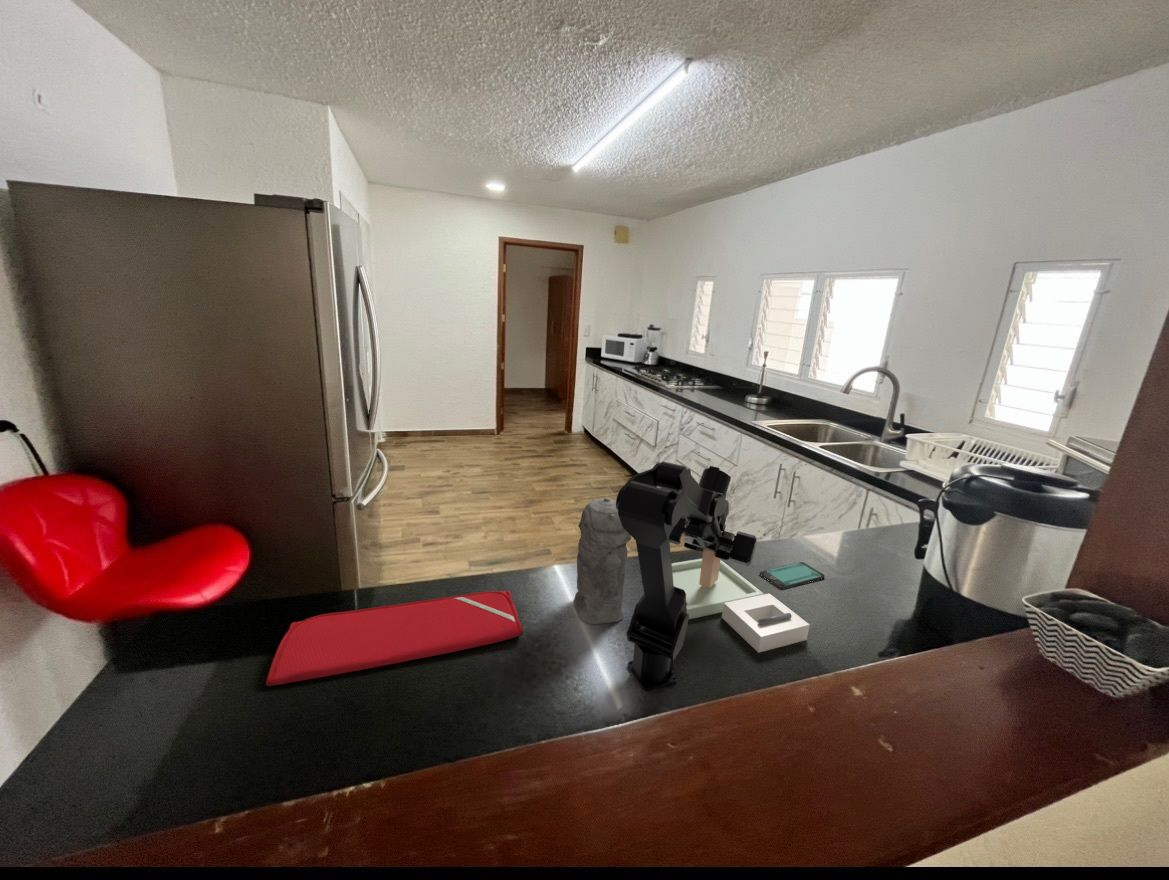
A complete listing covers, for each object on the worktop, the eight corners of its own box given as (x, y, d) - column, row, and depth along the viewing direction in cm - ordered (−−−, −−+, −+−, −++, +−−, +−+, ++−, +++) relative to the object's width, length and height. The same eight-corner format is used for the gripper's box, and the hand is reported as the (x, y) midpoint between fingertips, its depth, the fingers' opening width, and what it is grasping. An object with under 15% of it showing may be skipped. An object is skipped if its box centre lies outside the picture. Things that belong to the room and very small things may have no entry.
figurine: (608, 587, 105) (616, 484, 99) (630, 626, 92) (641, 511, 85) (567, 591, 102) (572, 486, 96) (583, 633, 89) (591, 514, 83)
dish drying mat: (292, 628, 87) (290, 611, 86) (509, 597, 100) (509, 582, 99) (266, 692, 72) (263, 672, 72) (523, 646, 86) (523, 629, 85)
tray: (685, 620, 95) (686, 609, 94) (645, 576, 110) (646, 567, 109) (761, 603, 102) (763, 593, 101) (714, 564, 117) (716, 556, 117)
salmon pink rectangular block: (709, 588, 103) (715, 543, 100) (699, 584, 105) (704, 540, 102) (717, 579, 107) (723, 536, 104) (707, 575, 109) (713, 532, 106)
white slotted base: (758, 652, 86) (762, 632, 85) (721, 617, 96) (724, 598, 95) (806, 639, 91) (810, 620, 90) (766, 607, 101) (770, 589, 100)
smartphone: (758, 571, 114) (802, 560, 120) (758, 575, 114) (801, 565, 120) (782, 587, 107) (827, 575, 114) (781, 591, 108) (826, 579, 114)
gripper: (762, 501, 91) (764, 532, 103) (673, 480, 101) (685, 510, 113) (747, 552, 87) (751, 578, 99) (656, 525, 96) (670, 552, 108)
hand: (713, 552), depth 105 cm, fingers closed on salmon pink rectangular block, 3 cm apart
